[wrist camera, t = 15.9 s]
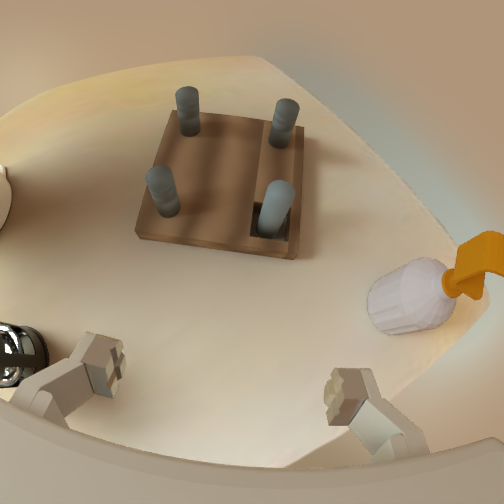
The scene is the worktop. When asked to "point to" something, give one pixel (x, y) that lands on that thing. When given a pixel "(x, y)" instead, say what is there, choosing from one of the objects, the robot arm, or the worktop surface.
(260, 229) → the stool leg
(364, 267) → the worktop surface
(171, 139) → the stool
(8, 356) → the french press
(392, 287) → the white orange spray bottle
